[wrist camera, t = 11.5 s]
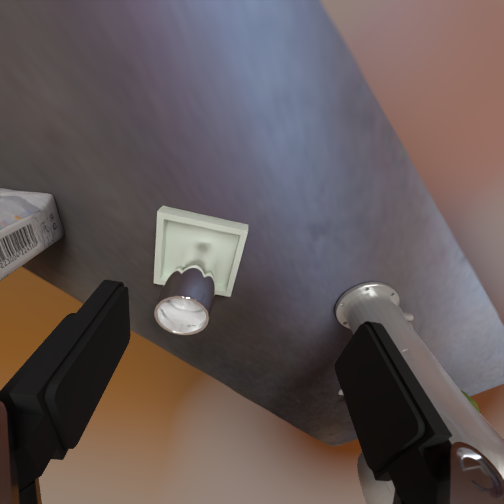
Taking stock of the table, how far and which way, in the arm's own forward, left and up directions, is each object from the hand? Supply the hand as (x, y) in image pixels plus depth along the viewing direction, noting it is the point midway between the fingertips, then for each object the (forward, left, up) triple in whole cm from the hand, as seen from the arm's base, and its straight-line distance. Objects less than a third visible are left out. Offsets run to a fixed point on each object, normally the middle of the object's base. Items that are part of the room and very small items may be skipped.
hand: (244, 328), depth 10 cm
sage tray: (+5, +16, -30) cm, 34 cm away
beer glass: (+4, +16, -30) cm, 34 cm away
